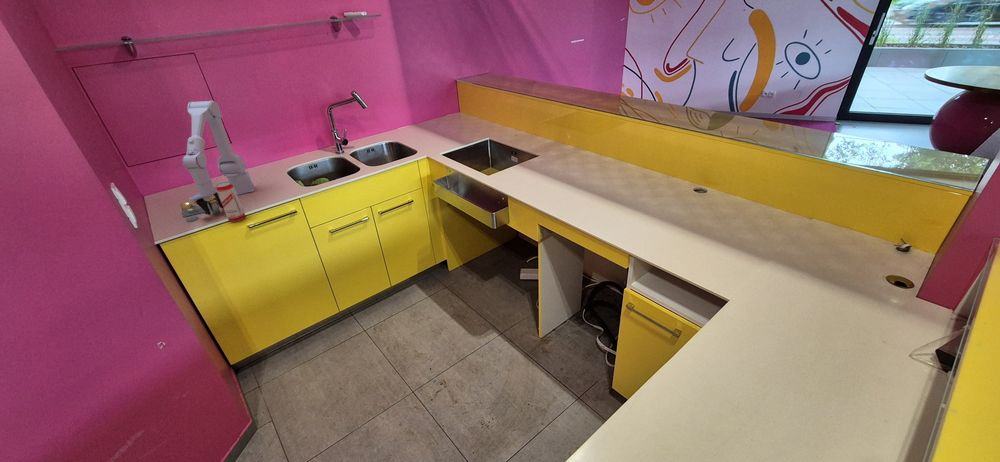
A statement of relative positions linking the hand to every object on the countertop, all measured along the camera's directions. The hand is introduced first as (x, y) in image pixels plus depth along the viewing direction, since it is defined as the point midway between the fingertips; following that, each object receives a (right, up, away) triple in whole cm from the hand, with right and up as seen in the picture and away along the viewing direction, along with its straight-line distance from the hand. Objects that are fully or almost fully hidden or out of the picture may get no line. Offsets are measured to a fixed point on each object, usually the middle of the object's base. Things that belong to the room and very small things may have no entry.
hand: (215, 210), depth 181 cm
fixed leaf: (-9, +4, +11) cm, 14 cm away
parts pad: (-8, -4, -3) cm, 9 cm away
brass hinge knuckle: (-11, +1, +4) cm, 12 cm away
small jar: (0, -1, +1) cm, 1 cm away
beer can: (+12, -4, -4) cm, 13 cm away
